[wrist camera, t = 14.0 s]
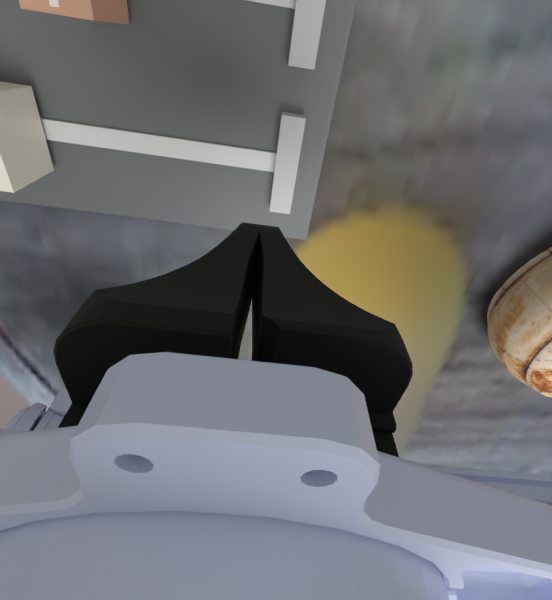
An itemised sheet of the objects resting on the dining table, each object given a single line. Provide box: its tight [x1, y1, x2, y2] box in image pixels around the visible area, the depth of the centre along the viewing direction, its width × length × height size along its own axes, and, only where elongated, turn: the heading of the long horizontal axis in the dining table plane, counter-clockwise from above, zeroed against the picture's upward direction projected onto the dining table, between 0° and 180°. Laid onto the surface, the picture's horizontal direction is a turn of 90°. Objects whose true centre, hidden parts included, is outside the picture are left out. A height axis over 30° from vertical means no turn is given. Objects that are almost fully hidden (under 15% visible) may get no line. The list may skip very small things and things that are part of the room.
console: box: [0, 0, 357, 240], centre depth 16 cm, size 16×20×2 cm
